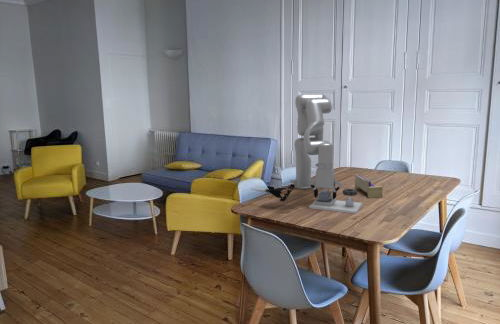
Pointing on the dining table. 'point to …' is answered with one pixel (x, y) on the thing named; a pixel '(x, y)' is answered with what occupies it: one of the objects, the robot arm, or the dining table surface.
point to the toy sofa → (367, 187)
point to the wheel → (349, 192)
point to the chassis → (337, 205)
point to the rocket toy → (277, 192)
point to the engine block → (325, 196)
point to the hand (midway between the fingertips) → (325, 197)
